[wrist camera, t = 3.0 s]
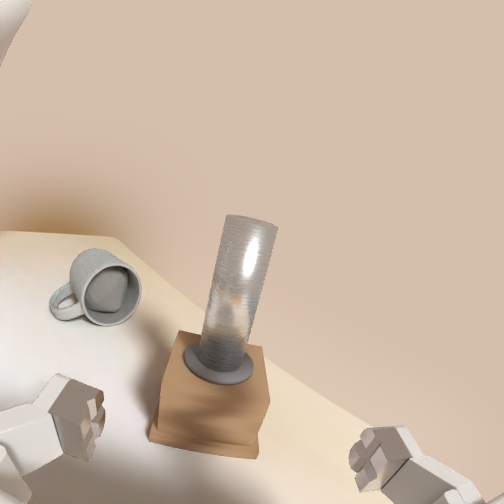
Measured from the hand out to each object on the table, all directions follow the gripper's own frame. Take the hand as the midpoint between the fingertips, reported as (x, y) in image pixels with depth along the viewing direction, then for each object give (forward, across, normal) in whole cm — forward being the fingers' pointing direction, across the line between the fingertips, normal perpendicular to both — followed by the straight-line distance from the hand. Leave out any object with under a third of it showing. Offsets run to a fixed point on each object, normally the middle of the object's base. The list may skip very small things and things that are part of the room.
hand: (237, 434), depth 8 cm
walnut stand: (+12, 0, -12) cm, 17 cm away
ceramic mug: (+24, -16, -12) cm, 31 cm away
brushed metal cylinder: (+12, 0, -6) cm, 13 cm away
